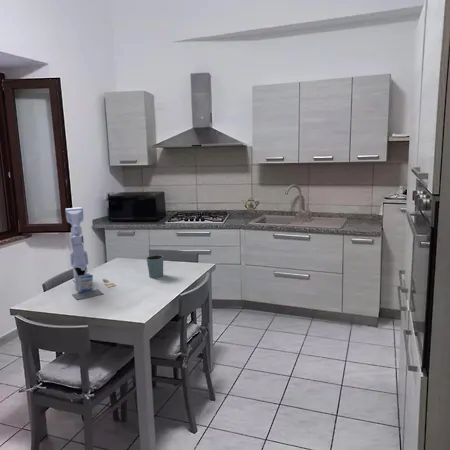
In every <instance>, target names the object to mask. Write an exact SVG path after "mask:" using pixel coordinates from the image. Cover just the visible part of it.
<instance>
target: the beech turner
mask: <svg viewBox="0 0 450 450" xmlns="http://www.w3.org/2000/svg"><path fill="white" fill-rule="evenodd" d="M102 281H103V282H104V283H103V284H104V285H105V286H106V287H107V288H113V287H116V286H117V285H116V284H115V283H114V282H113V281H109V280H108V279H107V278H102Z"/></svg>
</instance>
